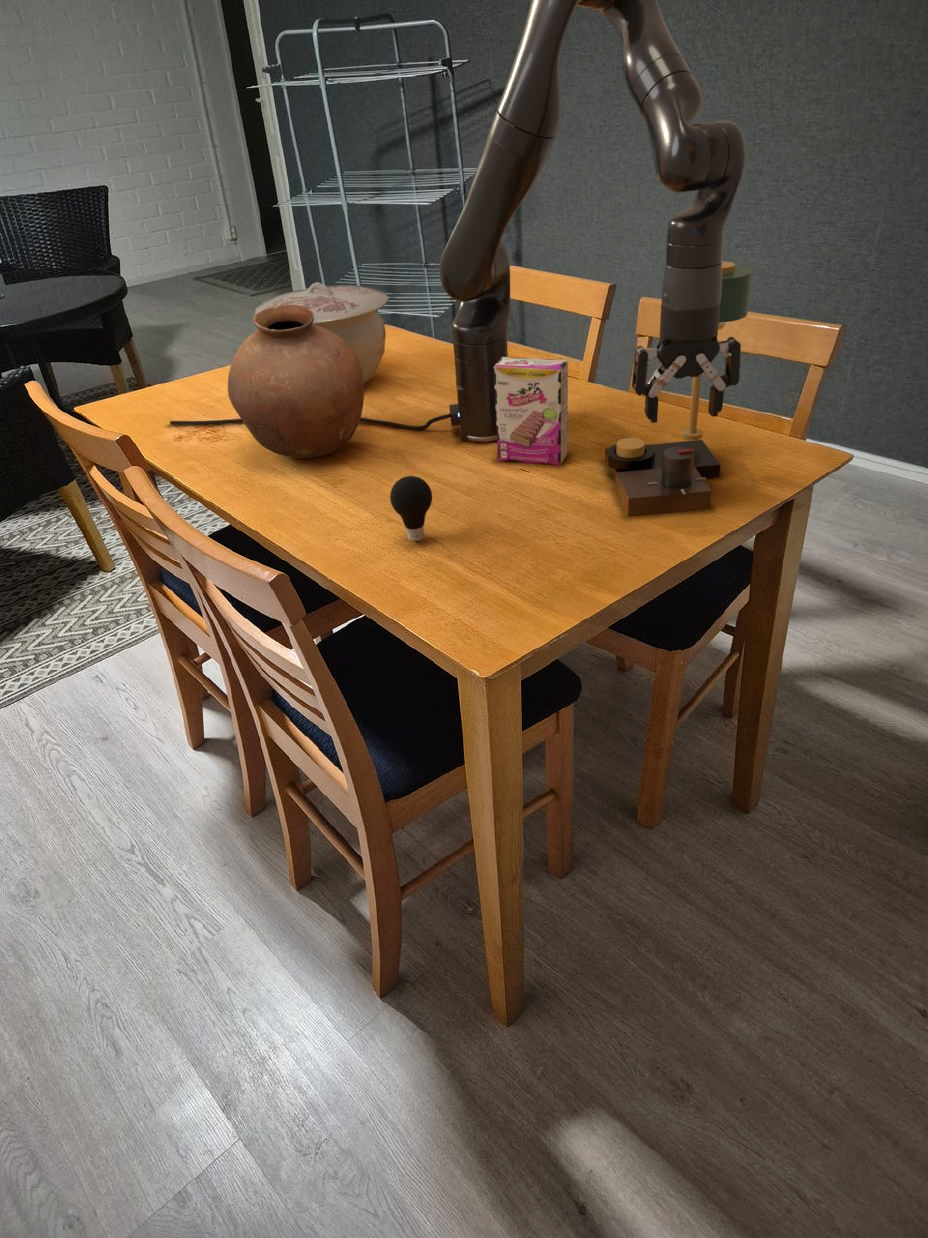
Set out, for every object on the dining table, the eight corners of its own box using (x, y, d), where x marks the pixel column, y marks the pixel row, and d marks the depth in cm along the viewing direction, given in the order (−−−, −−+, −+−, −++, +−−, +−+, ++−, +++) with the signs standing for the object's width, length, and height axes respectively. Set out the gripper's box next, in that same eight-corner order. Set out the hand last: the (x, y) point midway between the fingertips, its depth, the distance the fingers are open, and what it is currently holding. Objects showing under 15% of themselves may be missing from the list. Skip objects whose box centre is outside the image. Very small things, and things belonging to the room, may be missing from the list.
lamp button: (619, 460, 131) (619, 449, 130) (613, 449, 135) (613, 438, 134) (647, 457, 131) (648, 447, 130) (641, 446, 135) (641, 436, 134)
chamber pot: (392, 401, 171) (379, 294, 159) (258, 409, 172) (235, 304, 161) (402, 357, 194) (391, 261, 182) (284, 365, 195) (266, 270, 184)
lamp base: (611, 487, 132) (612, 463, 129) (599, 461, 140) (600, 438, 138) (719, 477, 132) (721, 453, 130) (700, 452, 140) (702, 429, 138)
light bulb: (395, 533, 124) (387, 471, 119) (435, 529, 125) (429, 467, 119) (396, 553, 120) (387, 489, 114) (437, 549, 120) (431, 484, 114)
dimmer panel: (628, 517, 123) (629, 498, 121) (615, 490, 131) (615, 471, 129) (712, 510, 123) (714, 490, 122) (694, 482, 131) (696, 464, 129)
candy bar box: (496, 462, 143) (491, 365, 133) (505, 450, 146) (501, 355, 137) (561, 467, 139) (561, 368, 130) (568, 454, 143) (568, 358, 134)
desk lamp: (684, 448, 132) (698, 274, 117) (669, 427, 139) (680, 260, 125) (741, 443, 132) (762, 268, 117) (723, 422, 139) (741, 254, 125)
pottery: (307, 419, 166) (282, 285, 152) (398, 439, 154) (381, 296, 140) (218, 463, 151) (181, 320, 137) (311, 489, 139) (282, 335, 125)
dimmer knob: (665, 489, 123) (667, 458, 121) (658, 476, 127) (660, 446, 124) (695, 486, 123) (698, 455, 121) (687, 473, 127) (689, 443, 124)
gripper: (735, 287, 114) (724, 403, 123) (630, 297, 114) (626, 413, 123) (754, 300, 107) (741, 422, 117) (643, 311, 107) (638, 432, 117)
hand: (682, 417), depth 120 cm, fingers open, 8 cm apart
